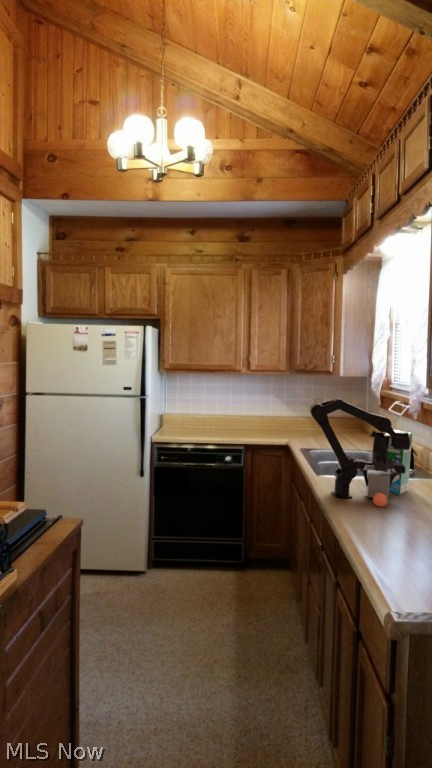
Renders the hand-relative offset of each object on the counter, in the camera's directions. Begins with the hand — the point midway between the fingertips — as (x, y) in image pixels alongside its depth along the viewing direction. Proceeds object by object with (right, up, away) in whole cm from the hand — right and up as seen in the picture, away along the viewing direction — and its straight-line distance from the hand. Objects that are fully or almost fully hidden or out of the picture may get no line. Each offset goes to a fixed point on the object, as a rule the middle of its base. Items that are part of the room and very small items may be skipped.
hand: (377, 487), depth 180 cm
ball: (-2, -3, -9) cm, 10 cm away
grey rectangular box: (0, -3, 0) cm, 3 cm away
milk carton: (+11, -4, +13) cm, 18 cm away
